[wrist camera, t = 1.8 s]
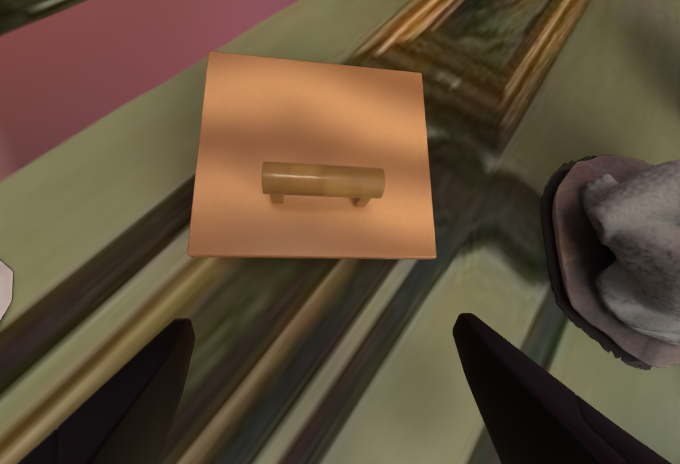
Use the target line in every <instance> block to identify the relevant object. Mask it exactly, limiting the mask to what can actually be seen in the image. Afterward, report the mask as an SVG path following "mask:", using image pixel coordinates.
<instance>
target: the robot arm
mask: <svg viewBox="0 0 680 464" xmlns="http://www.w3.org/2000/svg"><path fill="white" fill-rule="evenodd" d="M453 337H454V340H455V343H456V347H457V350H458V353H459V357H460V360H461V363H462V367H463V370H464V373H465V376H466V379H467V382H468V384H469V387H470V389H471V391H472V394H473V396H474V399H475V401H476V404H477V406H478V408H479V411H480V413H481V416H482V418H483V421H484V423H485V426H486V428H487V430H488V433H489V435H490V438H491V440H492V443H493V445H494V447H495V450H496V452H497V455H498V457H499V460H500V462H501V464H671V463H670V462H668V461H667V460H666V459H664V458H663V457H661V456H660V455H658V454H657V453H656V452H654V451H653V450H651V449H650V448H648V447H647V446H646V445H644V444H643V443H641V442H640V441H638V440H637V439H636V438H634V437H633V436H631V435H630V434H629V433H627V432H626V431H624V430H623V429H622V428H620V427H619V426H617V425H616V424H615V423H613V422H612V421H610V420H609V419H608V418H606V417H605V416H604V415H603V414H601V413H600V412H599V411H597V410H596V409H595V408H593V407H592V406H591V405H589V404H588V403H587V402H586V401H584V400H583V399H582V398H580V397H579V396H578V395H575V393H574V392H573V391H571V390H570V389H569V388H567V387H566V386H565V385H564V384H562V383H561V382H560V381H558V380H557V379H556V378H555V377H553V376H552V375H551V374H549V373H548V372H547V371H546V370H544V369H543V368H542V367H540V366H539V365H538V364H537V363H535V362H534V361H533V360H532V359H530V358H529V357H528V356H526V355H525V354H524V353H523V352H521V351H520V350H519V349H517V348H516V347H515V346H514V345H512V344H511V343H510V342H508V341H507V340H506V339H505V338H503V337H502V336H501V335H499V334H498V333H497V332H496V331H494V330H493V329H492V328H490V327H489V326H488V325H487V324H485V323H484V322H483V321H481V320H480V319H479V318H478V317H476V316H475V315H474V314H472V313H461V314H460V315H459V316H458V318H457V320H456V323H455V325H454V327H453ZM194 342H195V334H194V331H193V327H192V323H191V320H190V319H188V318H178V319H175V320H173V321H172V322H171V323H170V324H169V325H168V326H167V327H165V328H164V329H163V330H162V331H161V332H160V333H159V334H158V335H157V336H156V337H155V338H154V339H152V340H151V341H150V342H149V343H148V344H147V345H146V346H145V347H144V348H143V349H142V350H140V351H139V352H138V353H137V354H136V355H135V356H134V357H133V358H132V359H131V360H130V361H129V362H127V363H126V364H125V365H124V366H123V367H122V368H121V369H120V370H119V371H118V372H117V373H116V374H114V375H113V376H112V377H111V378H110V379H109V380H108V381H107V382H106V383H105V384H104V385H103V386H101V387H100V388H99V389H98V390H97V391H96V392H95V393H94V394H93V395H92V396H91V397H90V398H88V399H87V400H86V401H85V402H84V403H83V404H82V405H81V406H80V407H79V408H78V409H77V410H75V411H74V412H73V413H72V414H71V415H70V416H69V417H68V418H67V419H66V420H65V421H63V422H62V423H61V424H60V425H59V427H58V429H55V430H54V431H52V432H51V433H50V434H49V435H48V436H47V437H46V438H45V439H44V440H43V441H42V442H41V443H39V444H38V445H37V446H36V447H35V448H34V449H33V450H32V451H31V452H29V453H28V454H27V455H26V456H25V457H24V458H23V459H22V460H20V461H19V462H18V463H17V464H158V462H159V459H160V456H161V453H162V450H163V448H164V445H165V442H166V439H167V436H168V433H169V430H170V428H171V425H172V422H173V419H174V416H175V413H176V410H177V408H178V405H179V402H180V399H181V396H182V393H183V389H184V385H185V381H186V377H187V372H188V368H189V364H190V359H191V355H192V351H193V347H194Z"/></svg>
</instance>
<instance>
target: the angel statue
mask: <svg viewBox="0 0 680 464" xmlns="http://www.w3.org/2000/svg"><path fill="white" fill-rule="evenodd" d="M584 158H585V157H584ZM584 158H582V159H581V160H577V162H576V161H570V162H569V163H564V164H563V165H562V167H560V168H559V170H558V172H556V173H554V174H553V175H552V177H551V178H550V180H549V181H548V185H546V186H545V190H544V192H545V193H544V195H543V196H542V200H541V215H542V216H541V218H542V222H543V231H544V238H545V248H546V253H547V255H548V262H549V271H550V275H551V276H552V277H551V281H552V282H553V285H552V288H553V289H554V292H555V293H556V298H557V303H558V305H559V307H560V306H561V307H562V308H563V307H564V308H563V311H564V312H565V314H566V315H567V316H569V317H570V319H571V321H573V322H574V324H575V325H576V326H577V327H579V328H582V329H583V330H584V331H585V332H586V333H587V334H588V335H589V334H590V337H591V338H592V339H595V340H596V341H598V342H600V344H601V345H602V347H604V349H605V350H606V351H608V352H610V351H614V353H615V357H616V358H619V357H621V356H623V361H624V362H626V363H627V364H628V365H629V366H630V365H631V366H633V367H637V368H638V367H639V366H638V365H641V367H640V368H639V369H644V370H650V369H651V366H652V367H653V366H654V367H657V368H665V367H667V366H671V365H674V364H676V363H679V362H680V160H675V161H669V162H666V163H662V164H659V165H655V166H654V165H652V164H649V163H648V162H646V161H644V160H637V159H632V158H625V157H617V156H612V155H604V156H592V157H590V156H588V157H586V158H585V159H584ZM558 299H559V300H561V303H560V302H559V301H558ZM565 310H566V311H565ZM578 324H579V325H578Z"/></svg>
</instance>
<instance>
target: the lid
mask: <svg viewBox="0 0 680 464" xmlns="http://www.w3.org/2000/svg"><path fill="white" fill-rule="evenodd" d="M187 255H188V256H191V257H227V258H331V259H434V258H436V246H435V233H434V221H433V209H432V196H431V184H430V171H429V159H428V147H427V134H426V122H425V110H424V97H423V85H422V74H421V73H415V72H405V71H395V70H386V69H376V68H366V67H357V66H347V65H337V64H328V63H318V62H308V61H299V60H289V59H280V58H270V57H260V56H251V55H241V54H231V53H222V52H212V51H209V54H208V64H207V73H206V82H205V92H204V101H203V110H202V120H201V129H200V139H199V148H198V157H197V167H196V176H195V185H194V195H193V204H192V214H191V223H190V232H189V242H188V251H187Z"/></svg>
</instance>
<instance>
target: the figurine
mask: <svg viewBox="0 0 680 464" xmlns="http://www.w3.org/2000/svg"><path fill="white" fill-rule="evenodd" d="M12 285H13V271H12V270H11V269H9V268H8V267H7V266H6V265H5V264H4V263H3V262H2V261H1V260H0V319H1V318H2V316H3V314H4V313H5V311H6V310H7V308H8V306H9V305H10V303H11V301H12Z"/></svg>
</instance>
